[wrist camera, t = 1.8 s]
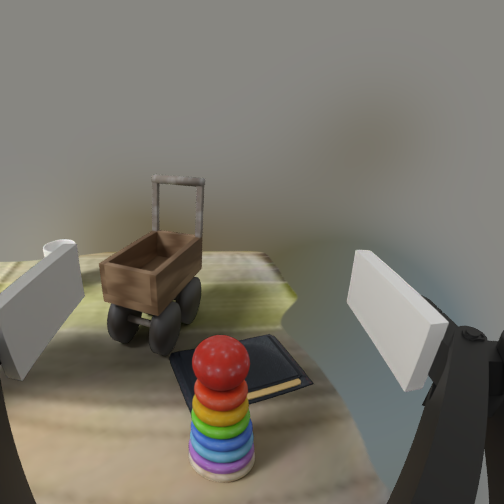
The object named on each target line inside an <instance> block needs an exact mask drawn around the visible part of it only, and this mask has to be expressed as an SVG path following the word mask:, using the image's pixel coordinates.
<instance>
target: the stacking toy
mask: <svg viewBox="0 0 504 504" xmlns="http://www.w3.org/2000/svg"><path fill="white" fill-rule="evenodd" d="M192 366H193V370H194V373H195V376H196V377H197V380H196V382H195V386H194V391H195V395H194V397H193V401H192V407H193V408H192V412H191V418H192V422H191V432H190V440H189V452H188V457H189V461H190V464H191V466H192V468H193V469H194V470H195V471H196V472H197V473H198V474H199V475H201V476H202V477H204V478H206V479H208V480H211V481H214V482H232V481H235V480H238V479H240V478H242V477H243V476H245V475H246V474H247V473H248V472H249V471H250V470H251V468H252V467H253V464H254V461H255V451H254V443H253V439H254V438H253V432H252V429H253V428H252V422H251V419H250V412H249V409H248V408H249V402H248V398H247V394H248V386H247V383H246V381H245V380H244V379H245V378H246V376H247V374H248V372H249V367H250V360H249V355H248V352H247V350H246V348H245V347H244V346H243V345H242V344H241V343H240V342H239V341H238V340H236V339H235V338H232V337H230V336H226V335H215V336H211V337H209V338H207V339H205V340H203V341H202V342H201V343H200V344H199V345H198V346H197V348H196V349H195V352H194V354H193V358H192Z"/></svg>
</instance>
